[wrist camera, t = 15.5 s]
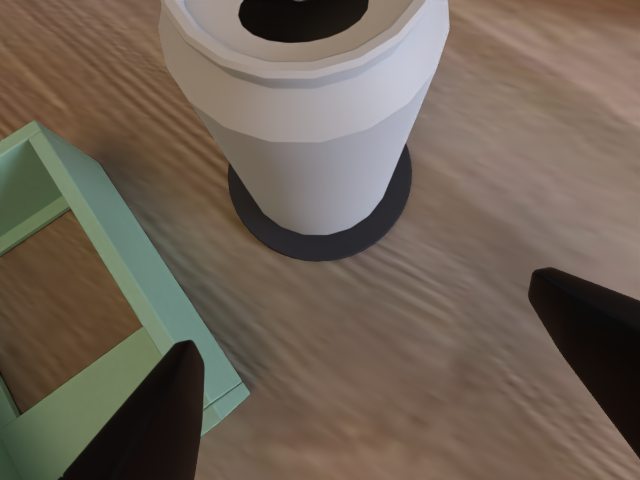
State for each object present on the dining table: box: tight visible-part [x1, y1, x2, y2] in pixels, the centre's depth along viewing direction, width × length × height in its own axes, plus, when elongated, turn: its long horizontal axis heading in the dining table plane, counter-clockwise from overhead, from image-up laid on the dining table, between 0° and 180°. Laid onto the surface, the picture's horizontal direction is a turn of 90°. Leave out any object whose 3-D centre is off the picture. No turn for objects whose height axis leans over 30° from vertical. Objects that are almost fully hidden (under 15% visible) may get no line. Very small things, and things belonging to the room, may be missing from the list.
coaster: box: [228, 143, 412, 262], centre depth 19 cm, size 10×10×1 cm
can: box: [158, 0, 450, 235], centre depth 13 cm, size 8×8×12 cm
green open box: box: [0, 120, 250, 480], centre depth 16 cm, size 15×11×4 cm
